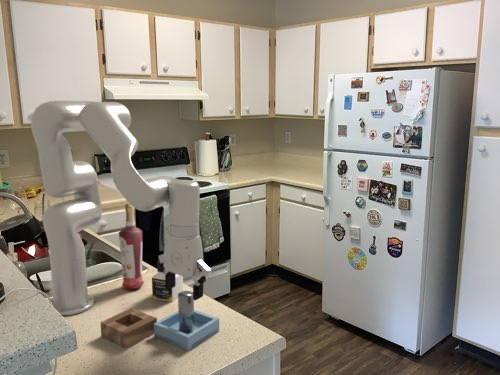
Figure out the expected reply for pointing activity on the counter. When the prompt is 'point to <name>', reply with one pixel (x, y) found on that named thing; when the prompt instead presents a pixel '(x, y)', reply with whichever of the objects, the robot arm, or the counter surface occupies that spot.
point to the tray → (170, 333)
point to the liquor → (131, 251)
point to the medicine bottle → (159, 286)
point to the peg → (186, 312)
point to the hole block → (128, 327)
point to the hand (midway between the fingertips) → (183, 293)
